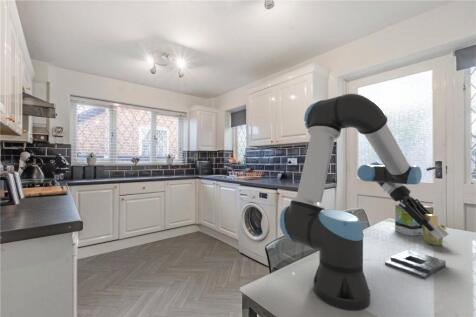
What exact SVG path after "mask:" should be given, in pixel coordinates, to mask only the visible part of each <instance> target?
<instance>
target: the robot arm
mask: <svg viewBox="0 0 476 317" xmlns="http://www.w3.org/2000/svg"><path fill="white" fill-rule="evenodd" d="M303 120H304V122H305V123H304V125H305V128H306V129H307V133H308V134H309V136H310V137H309V142H308V146H307V151H306V153H305V158H304V162H303V167H302V171H301V176H300V181H299V184H298V190H297V194H296V196H295V197H294V198H292V199H291V200H290V204H289V205H287V206H285V207H284V209H282V211H281V212H280V216H279V227H280V229H281V232H282V234H283V236H284V237H285V238H287V239H289V240H291V241H292V242H294V243H297V244H300V245H303V246H306V247H309V248H311V249H313V250H315V251H318V252H319V253H318V255H319V256H318V257H319V262H318V266H317V268H316V273H315V275H314V278H313V284H312V287H313V292H314V294H315V295H316V296H317V297H318V299H320V300H321V301H323V302H324V303H326V304H328V305H330V306H333V307H336V308H338V309H339V308H340V309H343V310H349V311H350V310H351V311H357V310H358V311H359V310H362V309H365V308H367V307H368V306H370V304H371V291H370V288H369V286H368V285H369V284H368V283H367V279H366V276H365V273H364V229H363V223H362V220H360V218H359V217H358V216H356V215H354V214H352V213H349V212H347V211H344V210H336V209H330V208H328V209H326V208H325V206H324V205H323V202H322V201H323V197H324V193H325V192H324V191H325V186H326V182H327V178H328V172H329V169H330V168H329V167H330V164H331V157H332V153H333V149H334V145H335V140H336V139H339V138H340V136H341V133H342V129H347V128H348V129H349V128H353V129H356V130H357V132H358V133H359V134H360V135H364V137H365V138H366V140H367V141H368V142H369V144H370V146H371V147H372V149H373V151H374V152H375V153H376V155H377V157H378V158H379V159H380V161H381V162H380V161H378V160H377V161H373V162H371V163H370V164H362V165H360V166H359V167H358V169H357V172H356V174H357V176H358V178H359V179H360V180H361V181H363V182H367V183H368V182H374V183H377V185H379V186H380V187H381V188H382V190H383V192H385V193H386V194H388V195H389V197H390V198H391V199H392V200H393V201H394V202H399V203H398V205H399V206H401V207H402V208H403V209H404V210H405V211H406V212H407V213H408V214H409V215H410V216H411V217H412V218H413V219H414V220H415V221H416V222H417V223H418V224H419V225H420V226H422V225H423V226H424V227H425V228H426V229H427V230H428V231H429V232H430V233H431V234H432V235H433V236H434V237H435V238H436V239H437V240H439V239H440V238H443V239H444V238H446V237H447V236H449V235H450V234H449V232H448V231H447V230H446V229H445V230H444V229H443V228H442V227H441V226H440V225H439V224H440V223H438V229H437V228H436V227H435V226H434V225H433V224H432V223H431V222H430V221H429V222H428V221H427V219H426V218H425V214H431V213H430V212H429V211H428V210H427V209H426V208H425V207H424V206H425V205H424V206H423V204H422V203H421V202H420V200H419V199H418V198H413V197H412V196H410V194H411V190H410V189H409V188H408V187H407V186H405V185H419V183H420V182H421V181H422V175H423V174H422V169H421V167H419V166H417V165H410V164H409V161H408V160H407V158H406V157H405V155H404V153H403V151H402V149H401V148H400V146H399V144H398V143H397V140H396V138H395V136H394V135H393V134H392V131H391V130H390V128H389V126H388V116H387V115H386V113H385V111H384V109H383V108H381V106H380V105H379V104H378V103H376V102H375V101H373V100H372V99H370V98H369V97H367V96H365V95H362V94H358V93H346V94H342V95H339V96H335V97H332V98H327V99H322V100H318V101H316V102H314V103H312V104H310V105H309V106H308V107H307V108H306V111H305V113H304V116H303Z"/></svg>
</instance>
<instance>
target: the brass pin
mask: <svg viewBox="0 0 476 317" xmlns="http://www.w3.org/2000/svg"><path fill="white" fill-rule="evenodd" d="M425 218H426V219H427V221H428V222H429V221H430V222H431V223H432V224H433V225H434V226H435V227H436V228H437V229H438V224H439V221H438V220H439V216H438V215H437V214H434V213H433V214H425ZM424 242H425V243H426V242H427V243H426V244H428V243H431V244H430V245H433V244H438V240H437V239H436V238H435V237H434V236H433V235H432V234H431V233H430V232H429V231H428V230H427V229H426V228H425V240H424Z"/></svg>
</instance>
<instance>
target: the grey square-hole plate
mask: <svg viewBox="0 0 476 317" xmlns="http://www.w3.org/2000/svg"><path fill="white" fill-rule="evenodd" d="M407 260H408V261H411V262H414V263H417V264H420V265H421V264H423V262H420V261H417V260H414V259H411V258H410V259H407ZM384 264H385V265H386V266H388V267H391V268H394V269H397V270H399V271H402V272H404V273H407V274H409V275H412V276H415V277H417V278H420V279H423V280H425V279H427V278H429V277H430V276H432V275H434V274H435V273H437V272H439V271H440V270H442V269H441V267H439V268H437V269H435V270H434V271H432V272H430V273H428V272H425V271H422V270H419V269H417V268H414V267H411V266H408V265H405V264H402V263H399V262H396V261H394V260H391V259H388V260H386V261H385V262H384Z"/></svg>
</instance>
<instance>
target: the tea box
mask: <svg viewBox="0 0 476 317" xmlns="http://www.w3.org/2000/svg"><path fill="white" fill-rule="evenodd" d="M422 205H423V204H422ZM423 206H424V207H425V208H426V209H427V210H428V211H429V212H430V213H431V214H433V215H434V211H435V210H434V207H433V206H429V205H425V204H424V205H423ZM394 210H395V211H394V212H395V213H394V214H395V216H394V218H395V219H394V231H395V232H397V233H398V232H399V233H401V234H404V235H407V236H411V237H414V236H415V237H416V236H424V234H423V228H422V226H420V225H419V224H418V223H417V222H416V221H415V220H414V219H413V218H412V217H411V216H410V215H409V214H408V213H407V212H406V211H405V210H404V209H403V208H402V207H401V206H399V204H395V209H394Z"/></svg>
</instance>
